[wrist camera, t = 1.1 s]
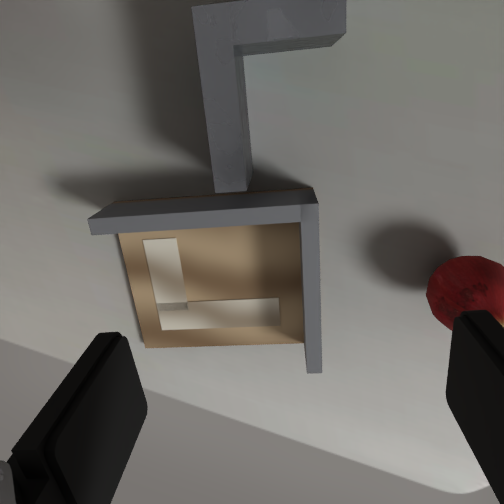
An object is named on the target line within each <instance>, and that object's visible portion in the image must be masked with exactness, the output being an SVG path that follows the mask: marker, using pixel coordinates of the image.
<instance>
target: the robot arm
mask: <svg viewBox="0 0 504 504" xmlns="http://www.w3.org/2000/svg"><path fill="white" fill-rule="evenodd" d="M446 399H447V403H448V405H449V408H450V409H451V411H452V413H453V415H454V417H455V419H456V421H457V423H458V425H459V427H460V428H461V430H462V432H463V434H464V436H465V438H466V440H467V442H468V444H469V446H470V447H471V449H472V451H473V453H474V455H475V457H476V459H477V461H478V463H479V465H480V466H481V468H482V470H483V472H484V474H485V476H486V478H487V480H488V482H489V484H490V486H491V487H492V489H493V491H494V493H495V495H496V497H497V499H498V501H499V502H500V504H504V327H503V326H502V325H501V324H500V323H499V322H498V321H497V320H496V319H495V318H494V316H493V315H492V314H491V313H490V312H489V311H487V310H469V311H462V312H461V314H460V316H459V317H455V318H454V322H453V331H452V340H451V349H450V358H449V367H448V376H447V385H446ZM146 415H147V402H146V398H145V395H144V392H143V388H142V385H141V382H140V379H139V375H138V372H137V369H136V366H135V362H134V359H133V356H132V352H131V349H130V346H129V343H128V340H127V338H126V337H125V336H122V335H121V334H120V333H119V332H106V333H99V334H98V335H97V336H96V337H95V338H94V340H93V341H92V342H91V344H90V345H89V346H88V348H87V349H86V350H85V352H84V353H83V354H82V356H81V357H80V358H79V360H78V361H77V362H76V364H75V365H74V367H73V368H72V369H71V371H70V372H69V373H68V375H67V376H66V377H65V379H64V380H63V381H62V383H61V384H60V385H59V387H58V388H57V390H56V391H55V392H54V393H53V395H52V396H51V398H50V399H49V400H48V402H47V403H46V404H45V406H44V407H43V408H42V410H41V411H40V412H39V414H38V415H37V416H36V418H35V419H34V421H33V422H32V423H31V424H30V426H29V427H28V429H27V430H26V431H25V433H24V434H23V435H22V437H21V438H20V439H19V441H18V442H17V443H16V445H15V446H14V447H13V449H12V450H11V451H12V453H13V454H12V455H11V457H10V458H9V460H8V461H7V462H5V461H0V504H110V503H111V501H112V498H113V496H114V494H115V491H116V489H117V486H118V484H119V481H120V479H121V477H122V474H123V471H124V469H125V467H126V464H127V462H128V460H129V457H130V455H131V452H132V450H133V447H134V445H135V442H136V440H137V438H138V435H139V432H140V430H141V428H142V425H143V423H144V420H145V418H146Z"/></svg>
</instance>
